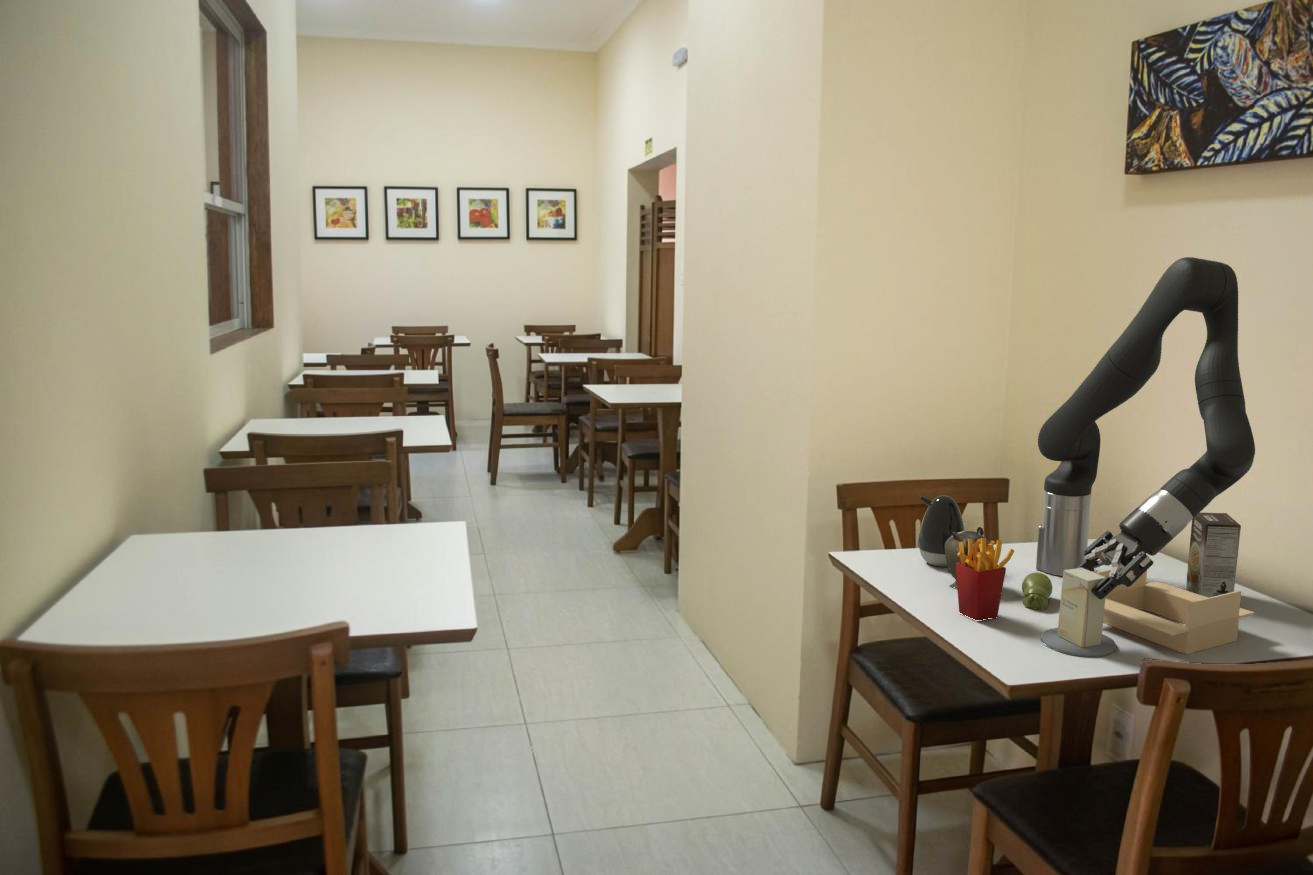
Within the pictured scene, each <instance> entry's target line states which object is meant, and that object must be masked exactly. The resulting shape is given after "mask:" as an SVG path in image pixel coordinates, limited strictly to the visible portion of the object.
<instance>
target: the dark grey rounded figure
mask: <svg viewBox="0 0 1313 875" xmlns="http://www.w3.org/2000/svg"><path fill="white" fill-rule="evenodd" d="M919 500H920V501H921V502H922V503H923V504H925V505H926V506H928V507H927V509H926V511H925V513H924V515H923V518H922V521H921V524H920V527H919V533H918V539H917V547H918V550H919V552H920V556H921V557H922V558H923V560H924V561H925V562H926V563H928V564H930V565H932V566H935V567H942V568H943V567H944V568H946V567H947V568H948V565H947V562H946V556H945V542H946V541H947V540H948V539H949V538H950V537H951V536H952V532H951V531H953V532H957V533H958V532H962V531H966V529H965V528H966V526H965V523H964V520H963V516H962V513H961V510H960V508H959V506H958V504H957V502H956V501H955V499H954V498H952V497H951V496H948V495H945V494H944V495H937V496H936V497H934V498H933V500H932V499H929V498H927V497H926V496H923V495H921V496H920V498H919Z"/></svg>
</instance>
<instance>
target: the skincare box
mask: <svg viewBox="0 0 1313 875" xmlns="http://www.w3.org/2000/svg"><path fill="white" fill-rule="evenodd" d="M1104 578H1105V577H1104V576H1102V575H1099V574H1097V573H1096V572H1094V571H1093V572H1092V571H1089V570H1087V569H1084V568H1082V567H1081V568H1075V569H1067V570H1063V576H1062V581H1061V582H1062V583H1061V593H1060V602H1059V614H1058V622H1057V624H1058V625H1057V628H1058V633H1057V635H1058V636H1060V637H1062V638H1064V639H1066V640H1067V641H1069V642H1071V643H1073V644H1075V645H1077V646H1079V647H1082V648H1083V647H1089V646H1095V645H1100V644H1101V636H1102V633H1103V627H1104V626H1103V624H1104V623H1103V617H1104V607H1105V598H1106V596H1105V597H1104V598H1103V599H1101V600H1100V599H1098V598H1097V597H1096V596H1095V595H1094V594H1093V593H1092V589H1093V588H1094V587H1095V586H1096V585H1097V584H1098V583H1099V582H1100V581H1102V580H1103V579H1104Z"/></svg>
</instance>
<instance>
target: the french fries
mask: <svg viewBox="0 0 1313 875" xmlns="http://www.w3.org/2000/svg"><path fill="white" fill-rule="evenodd" d="M986 539H987V538H986V537H985V538H981V539H978V540H977V541H976V543H975V545H974V547H973V539H968V555H967V556H966V555H965V554H964V546H963V542H958V543H959V551H960V552H958V554H957V556H959V557H960V559H961V562H958V563H956V577H957V589H956V591H957V600H958V613H959V612H960V613H962V614H963V615H966V616H968V617H970V618H973V619H975V620H983V619H988V618H995V619H997V618H998V615H999V610H1000V604H1001V599H1002V593H1003V588H1004V582H1005V576H1006V570H1007V568H1006V567H1005V565H1007V564H1008V563H1009V561H1010V560H1011V559H1012V557H1013V555H1014V553H1015V550H1014V549H1013V548H1009V550H1008V552H1007V554H1006V556H1005V557H1004V558H1003V559H1002V561H1001V562H999V560H1000V558H1001V553H1002V548H1003V546H1002V545H1003V540H1001V539H996V541H995V540H990V541H989V542H990V543H989V544H988V547H987V549H986ZM980 542H981V544H980ZM995 544H996V545H995ZM994 545H995V547H994ZM978 547H980V552H978ZM972 554H973V560H971V559H972ZM985 558H986V560H985ZM963 615H962V616H963ZM996 617H997V618H996Z"/></svg>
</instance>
